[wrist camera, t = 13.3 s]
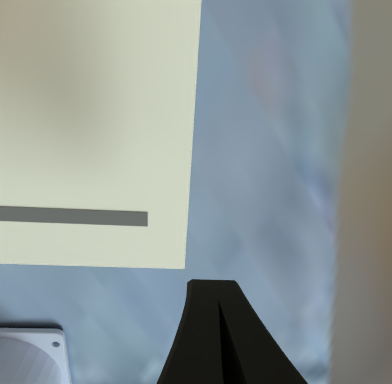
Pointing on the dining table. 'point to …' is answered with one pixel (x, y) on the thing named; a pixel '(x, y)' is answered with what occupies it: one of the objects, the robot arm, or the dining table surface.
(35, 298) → the dining table surface
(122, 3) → the board
